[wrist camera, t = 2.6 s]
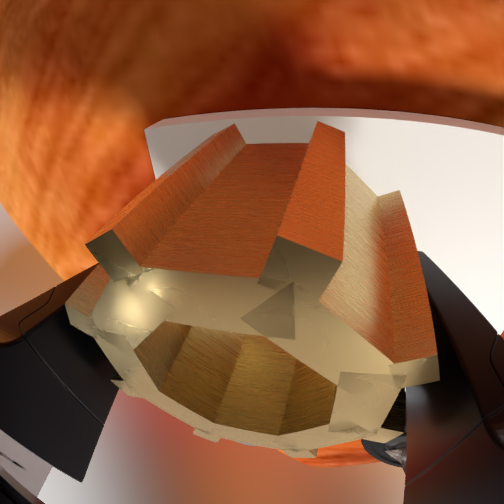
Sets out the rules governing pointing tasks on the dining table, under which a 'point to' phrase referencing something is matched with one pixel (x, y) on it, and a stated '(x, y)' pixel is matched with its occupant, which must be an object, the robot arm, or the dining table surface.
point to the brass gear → (264, 296)
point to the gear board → (394, 178)
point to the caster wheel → (390, 449)
